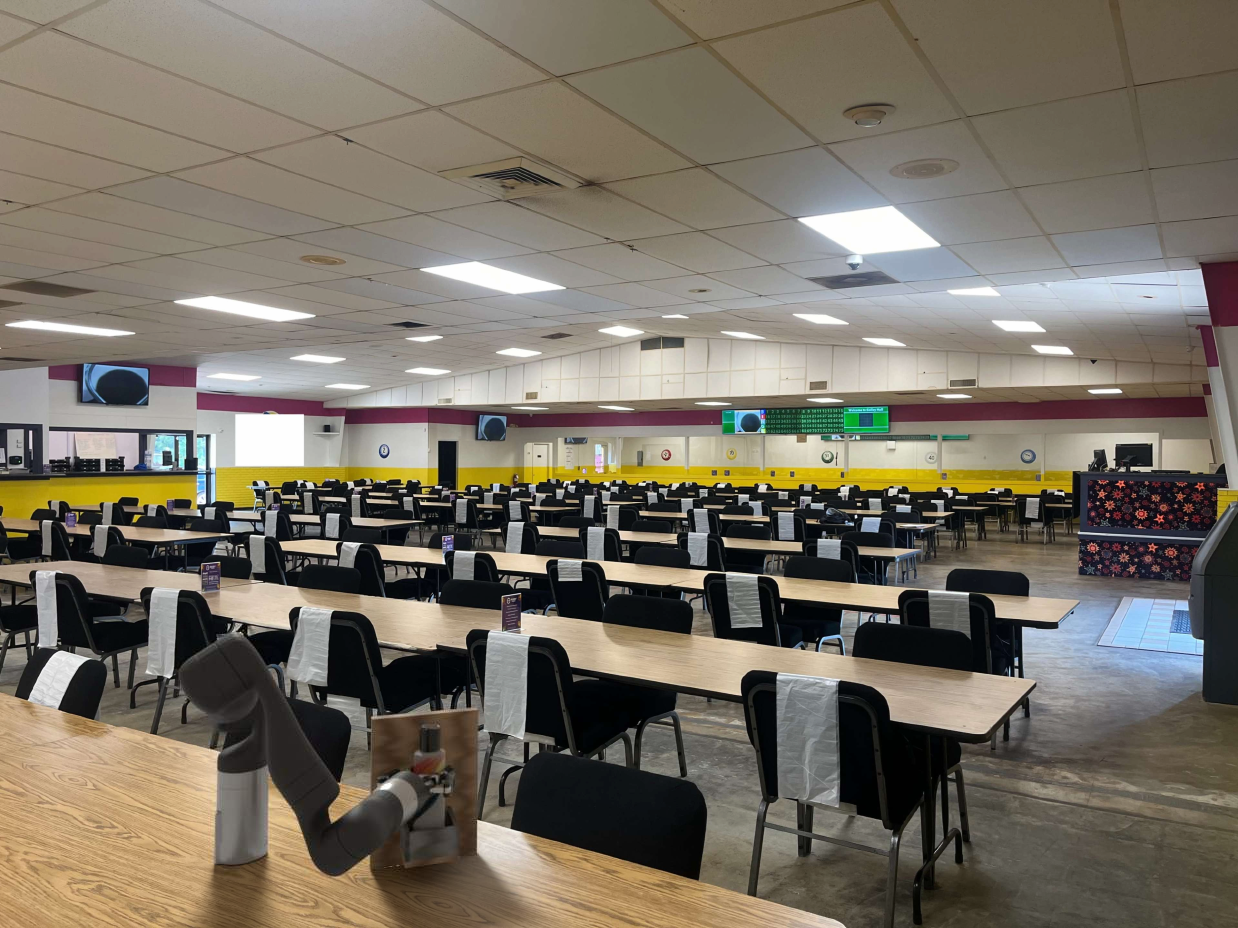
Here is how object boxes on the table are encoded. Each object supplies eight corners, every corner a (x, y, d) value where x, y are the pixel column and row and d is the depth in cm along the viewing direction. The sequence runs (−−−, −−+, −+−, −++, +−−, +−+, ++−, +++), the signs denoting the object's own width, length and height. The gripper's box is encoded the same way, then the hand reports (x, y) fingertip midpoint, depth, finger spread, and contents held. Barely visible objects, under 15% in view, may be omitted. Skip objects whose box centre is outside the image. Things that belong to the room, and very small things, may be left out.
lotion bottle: (415, 828, 158) (417, 720, 158) (446, 827, 158) (447, 720, 159) (410, 840, 152) (412, 729, 153) (442, 839, 152) (443, 728, 153)
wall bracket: (374, 895, 147) (375, 734, 148) (369, 865, 159) (371, 716, 159) (487, 877, 154) (488, 724, 155) (475, 849, 166) (476, 707, 166)
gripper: (436, 781, 140) (471, 751, 157) (356, 776, 143) (399, 746, 159) (435, 827, 140) (471, 791, 157) (355, 820, 142) (398, 786, 159)
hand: (434, 769), depth 158 cm, fingers closed on lotion bottle, 5 cm apart
